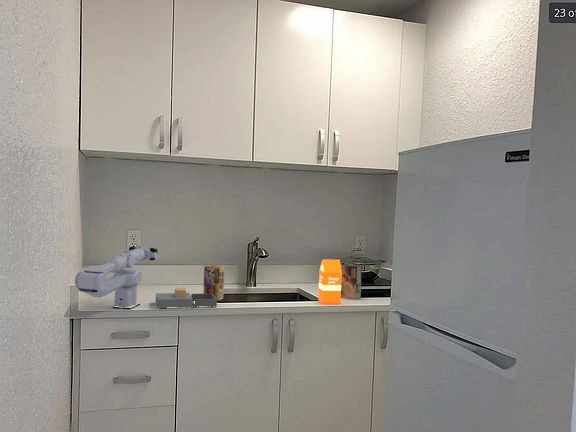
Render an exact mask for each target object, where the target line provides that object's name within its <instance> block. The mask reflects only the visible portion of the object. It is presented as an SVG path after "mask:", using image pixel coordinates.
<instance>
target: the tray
mask: <svg viewBox="0 0 576 432" xmlns="http://www.w3.org/2000/svg"><path fill="white" fill-rule="evenodd" d="M190 295H191V297H192V306H193V307H197V306H198V307H199V306H217V304H218V300H217V299H216V297H215V296H214V295H213V294H212V293H204V292H203V293H191V294H190ZM193 301H195V304H194V302H193ZM193 307H192V308H193Z"/></svg>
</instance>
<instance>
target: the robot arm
mask: <svg viewBox="0 0 576 432" xmlns="http://www.w3.org/2000/svg"><path fill="white" fill-rule="evenodd" d="M157 254H158V248H154V247H149V250H147V249H146V248H143V245H141V244H138V245H137V246H129V247H128V250H125V251H124V253H116V254H115V255H114V256H112V258H110V259H108V260H107V261H106V263H104V264H100V265H97V266H94V267H90V268H86V269H83V270H82V271H78V272H77V274H76V275H75V278H74V285H75V286H74V287H75V288H76V289H77V291H78V292H80V293H81V292H82V293H84V294H87V295H89V296H91V297H93V298H101V299H102V298H103V297H105V296H107V295H109V294H111V293H113V292H114V306H119V307H129V306H132V305H136V303H137V294H138V293H137V291H138V289H137V287H138V285H140V283H141V282H142V277H143V276H142V272H141V271H140V270H139V269H132V268H133V266H134V265H135V264H138V263H139V262H143V261H146V260H149V261H155V260H156V258H157V257H158V256H157ZM110 273H113V275H112V276H111V277H109V278H108V277H107V276H108V275H107V274H110Z"/></svg>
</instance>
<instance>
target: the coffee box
mask: <svg viewBox="0 0 576 432" xmlns="http://www.w3.org/2000/svg"><path fill="white" fill-rule="evenodd" d="M340 266H341V272H342V277H341V298H343V299H345V298H346V299H352V300H357V299H361V298H362V295H361V293H362V265H358V264H349V263H343V264H340Z"/></svg>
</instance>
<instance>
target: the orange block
mask: <svg viewBox="0 0 576 432" xmlns="http://www.w3.org/2000/svg"><path fill="white" fill-rule="evenodd" d="M174 293H175V296H176V297H186V293H187V290H186V288H185V287H175V288H174Z"/></svg>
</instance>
